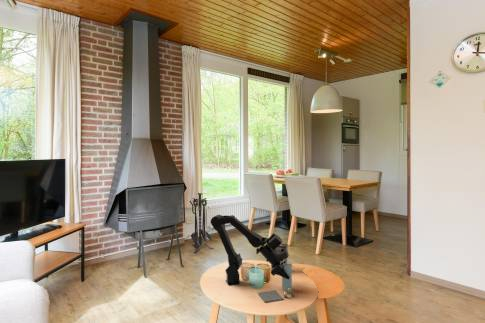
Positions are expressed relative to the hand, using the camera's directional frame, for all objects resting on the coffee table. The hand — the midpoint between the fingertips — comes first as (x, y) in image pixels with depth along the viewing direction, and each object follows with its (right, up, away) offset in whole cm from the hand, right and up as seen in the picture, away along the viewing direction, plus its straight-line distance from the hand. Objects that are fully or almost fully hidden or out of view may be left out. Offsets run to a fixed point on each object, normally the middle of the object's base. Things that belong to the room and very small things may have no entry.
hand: (289, 276), depth 161 cm
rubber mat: (-11, -7, -9) cm, 16 cm away
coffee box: (-2, -6, +27) cm, 28 cm away
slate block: (-1, -7, 0) cm, 7 cm away
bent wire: (-2, -7, -7) cm, 10 cm away
